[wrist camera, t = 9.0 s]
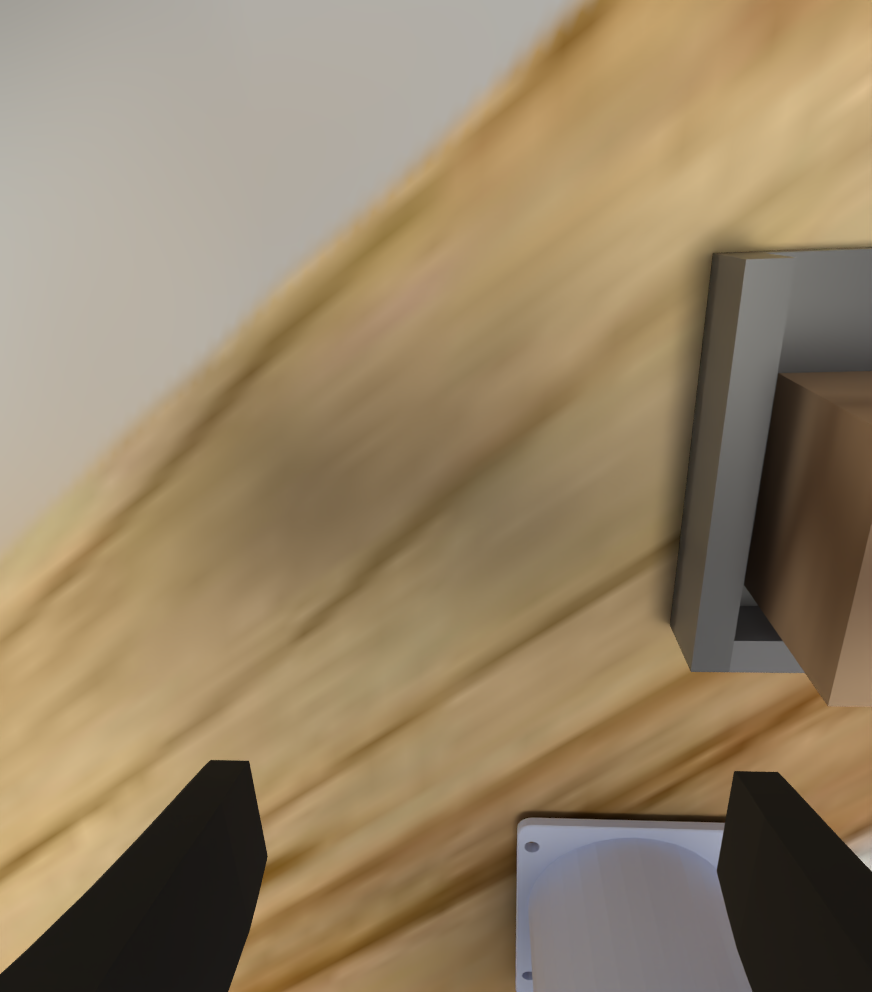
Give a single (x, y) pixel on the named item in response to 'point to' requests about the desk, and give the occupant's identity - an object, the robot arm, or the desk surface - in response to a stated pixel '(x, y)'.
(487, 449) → the desk surface
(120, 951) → the robot arm
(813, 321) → the gray u-shaped channel bracket
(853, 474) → the walnut block
